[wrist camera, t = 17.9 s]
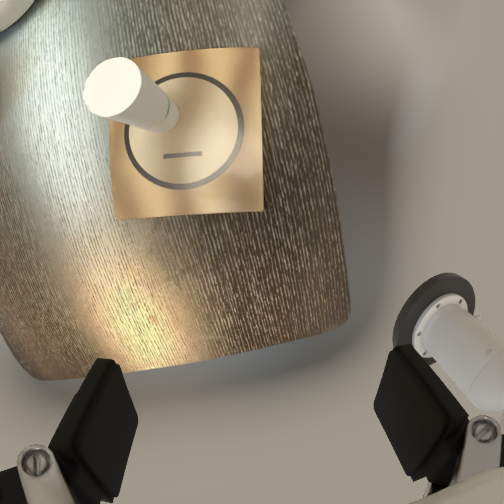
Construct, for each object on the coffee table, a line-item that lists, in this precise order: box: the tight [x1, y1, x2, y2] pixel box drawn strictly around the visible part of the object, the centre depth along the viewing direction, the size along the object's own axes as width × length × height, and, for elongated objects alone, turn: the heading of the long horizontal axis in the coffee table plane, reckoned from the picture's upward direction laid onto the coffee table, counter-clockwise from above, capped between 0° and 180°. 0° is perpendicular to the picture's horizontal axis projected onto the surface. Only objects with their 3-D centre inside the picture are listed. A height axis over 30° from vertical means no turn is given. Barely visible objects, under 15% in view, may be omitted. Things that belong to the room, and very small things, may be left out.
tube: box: [84, 57, 179, 133], centre depth 22 cm, size 4×4×15 cm
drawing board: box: [109, 47, 264, 220], centre depth 31 cm, size 18×20×2 cm
